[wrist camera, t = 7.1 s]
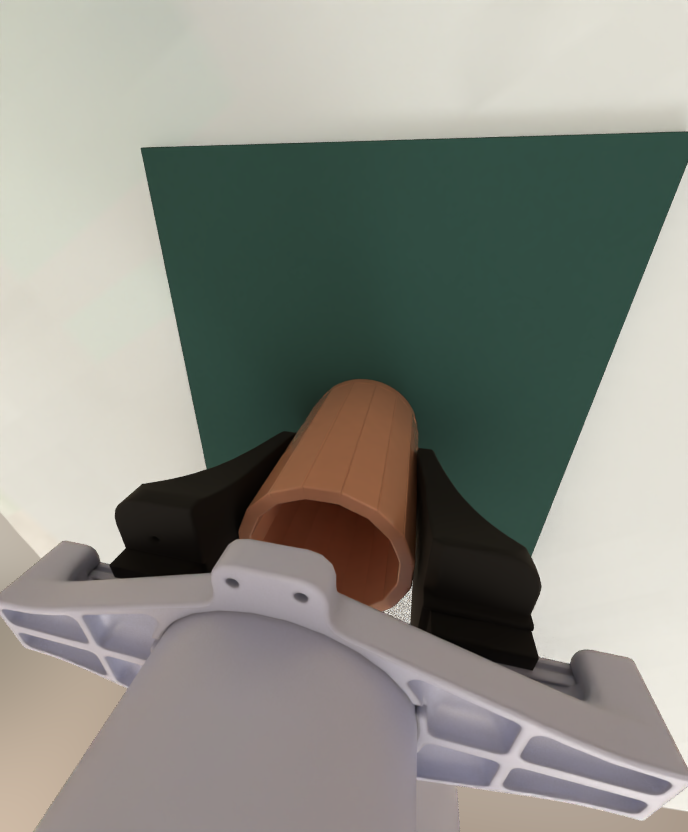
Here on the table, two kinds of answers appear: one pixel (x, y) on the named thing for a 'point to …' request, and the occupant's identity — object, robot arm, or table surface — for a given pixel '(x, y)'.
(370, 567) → the brown cup
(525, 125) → the table surface
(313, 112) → the table surface
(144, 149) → the mat
